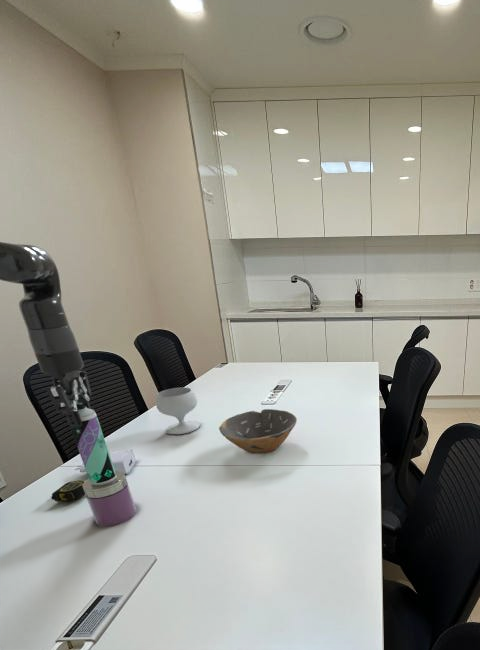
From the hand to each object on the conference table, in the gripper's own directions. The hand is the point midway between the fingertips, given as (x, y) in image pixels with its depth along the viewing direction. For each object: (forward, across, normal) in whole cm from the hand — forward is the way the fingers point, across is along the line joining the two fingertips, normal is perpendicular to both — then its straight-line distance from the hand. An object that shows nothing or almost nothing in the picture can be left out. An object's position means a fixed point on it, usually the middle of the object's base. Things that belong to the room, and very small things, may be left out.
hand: (82, 421), depth 89 cm
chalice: (+26, -56, +7) cm, 62 cm away
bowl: (+26, -28, +37) cm, 53 cm away
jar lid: (+16, 0, 0) cm, 16 cm away
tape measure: (+26, -13, -15) cm, 33 cm away
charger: (+26, -27, -11) cm, 39 cm away
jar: (+26, 0, 0) cm, 26 cm away
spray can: (+16, 0, 0) cm, 16 cm away
